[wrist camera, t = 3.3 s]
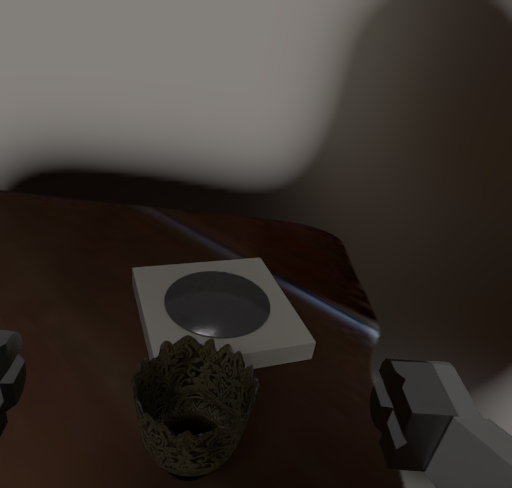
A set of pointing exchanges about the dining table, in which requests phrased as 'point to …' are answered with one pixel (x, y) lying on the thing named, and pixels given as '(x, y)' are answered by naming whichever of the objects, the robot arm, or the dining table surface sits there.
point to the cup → (193, 405)
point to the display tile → (221, 310)
